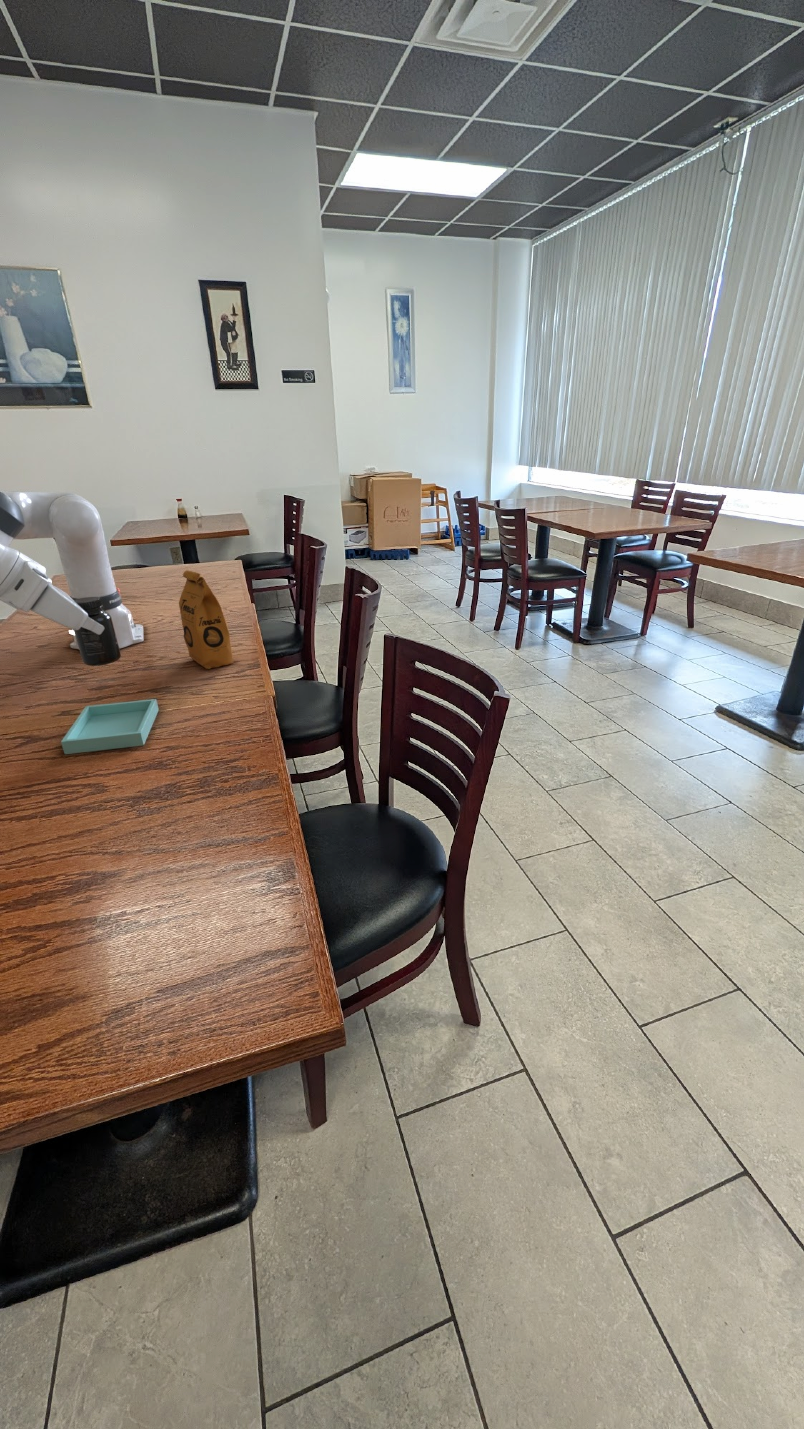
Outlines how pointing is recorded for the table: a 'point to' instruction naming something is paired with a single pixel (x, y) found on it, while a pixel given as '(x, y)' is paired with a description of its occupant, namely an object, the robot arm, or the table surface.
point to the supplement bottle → (97, 635)
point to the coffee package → (204, 623)
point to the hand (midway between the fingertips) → (96, 625)
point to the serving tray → (111, 726)
